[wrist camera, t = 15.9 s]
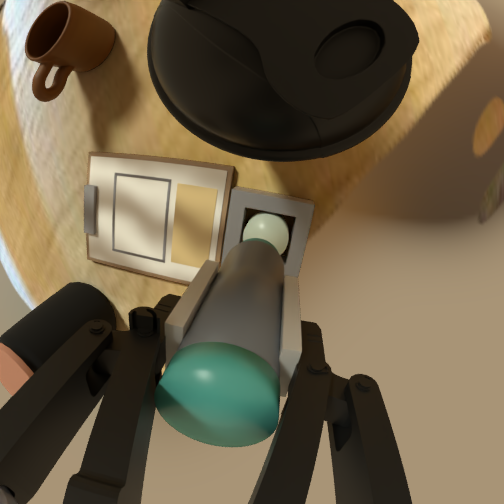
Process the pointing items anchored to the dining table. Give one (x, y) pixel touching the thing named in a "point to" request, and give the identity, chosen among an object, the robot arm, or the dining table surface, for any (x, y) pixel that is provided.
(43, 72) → the mug
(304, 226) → the button housing
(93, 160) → the board
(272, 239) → the button
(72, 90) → the dining table surface
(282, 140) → the water bottle
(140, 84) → the dining table surface
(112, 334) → the robot arm
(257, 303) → the marker
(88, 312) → the coffee jar
